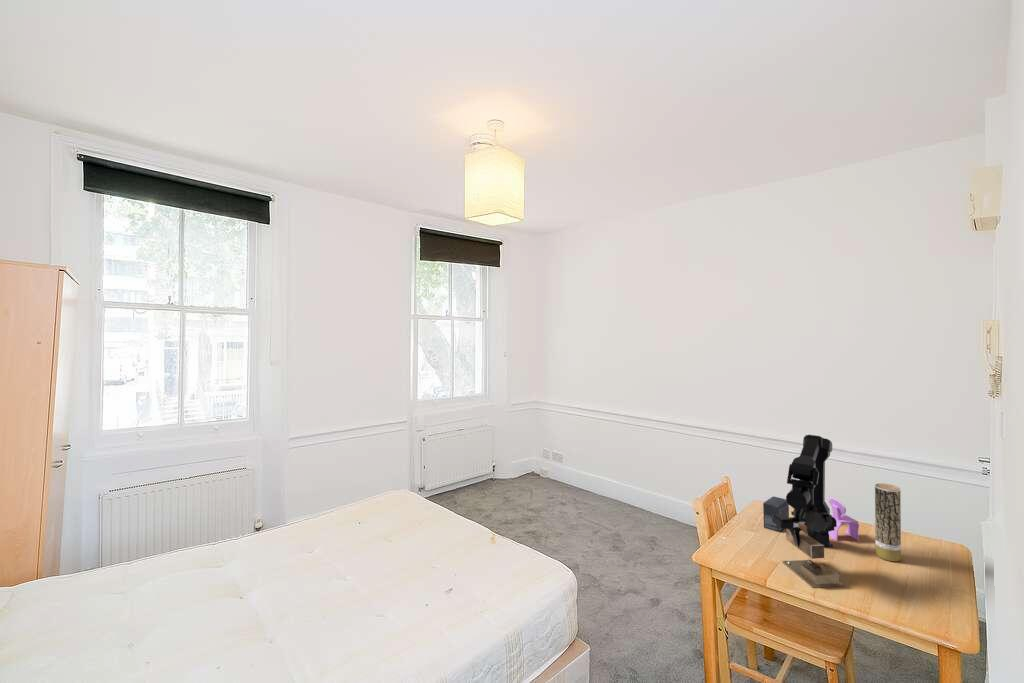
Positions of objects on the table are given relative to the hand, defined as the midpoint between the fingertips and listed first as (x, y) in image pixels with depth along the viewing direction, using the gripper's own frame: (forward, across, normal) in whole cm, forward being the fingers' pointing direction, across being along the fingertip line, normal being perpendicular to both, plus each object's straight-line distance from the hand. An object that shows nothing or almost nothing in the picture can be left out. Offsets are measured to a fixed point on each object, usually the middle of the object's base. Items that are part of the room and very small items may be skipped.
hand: (804, 545), depth 151 cm
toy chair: (+8, +29, +21) cm, 37 cm away
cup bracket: (+8, 0, -3) cm, 8 cm away
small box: (+8, +10, +32) cm, 34 cm away
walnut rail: (+1, 0, 0) cm, 1 cm away
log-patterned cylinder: (+8, +33, +5) cm, 34 cm away
